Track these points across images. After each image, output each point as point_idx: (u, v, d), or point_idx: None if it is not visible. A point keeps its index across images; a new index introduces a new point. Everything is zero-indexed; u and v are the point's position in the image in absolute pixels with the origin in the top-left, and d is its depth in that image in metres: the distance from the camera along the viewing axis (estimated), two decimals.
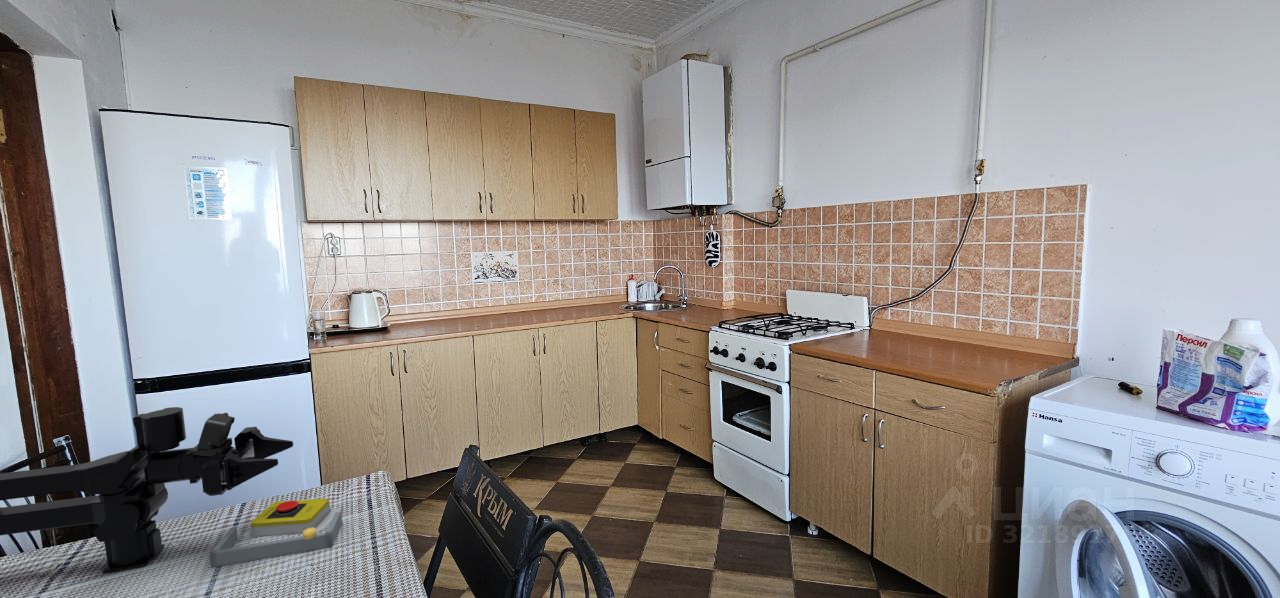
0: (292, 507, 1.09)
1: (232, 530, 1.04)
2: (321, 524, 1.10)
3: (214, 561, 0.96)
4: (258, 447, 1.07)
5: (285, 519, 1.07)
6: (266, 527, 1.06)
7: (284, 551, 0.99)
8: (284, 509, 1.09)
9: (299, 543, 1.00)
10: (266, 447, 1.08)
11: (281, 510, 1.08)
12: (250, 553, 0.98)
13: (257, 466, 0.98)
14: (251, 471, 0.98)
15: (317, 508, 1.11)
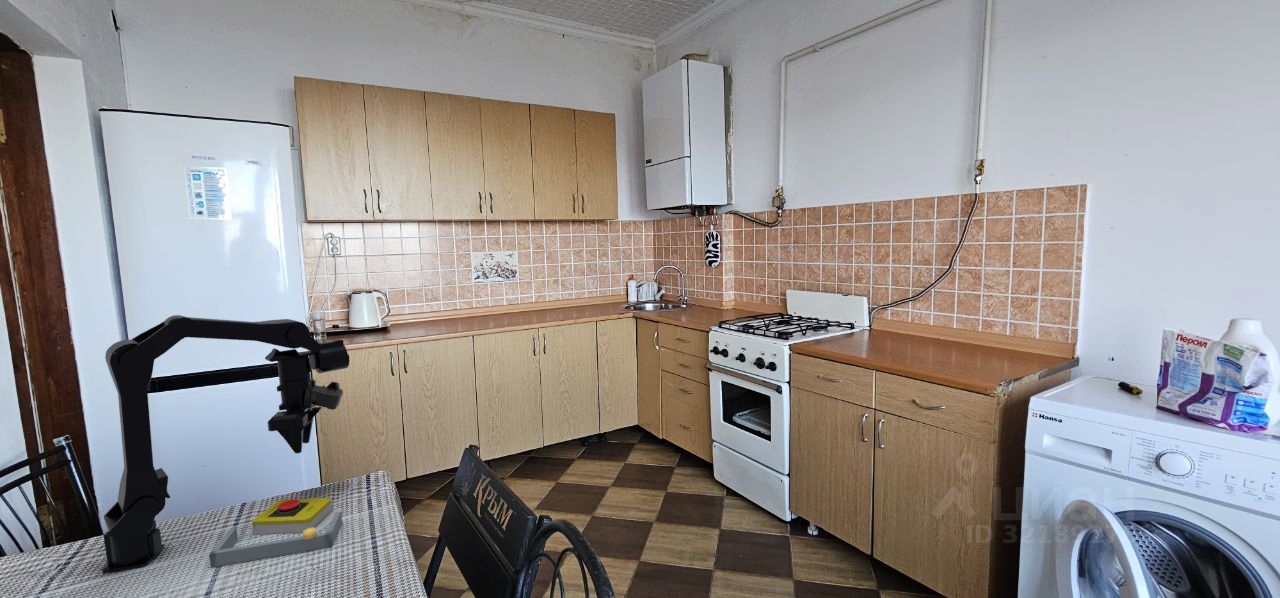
0: (293, 506, 1.10)
1: (232, 530, 1.04)
2: (320, 524, 1.10)
3: (214, 561, 0.96)
4: None
5: (285, 519, 1.07)
6: (267, 526, 1.07)
7: (284, 551, 0.99)
8: (285, 508, 1.09)
9: (299, 543, 1.00)
10: None
11: (282, 509, 1.09)
12: (250, 553, 0.98)
13: (295, 441, 1.15)
14: (290, 438, 1.14)
15: (318, 508, 1.11)
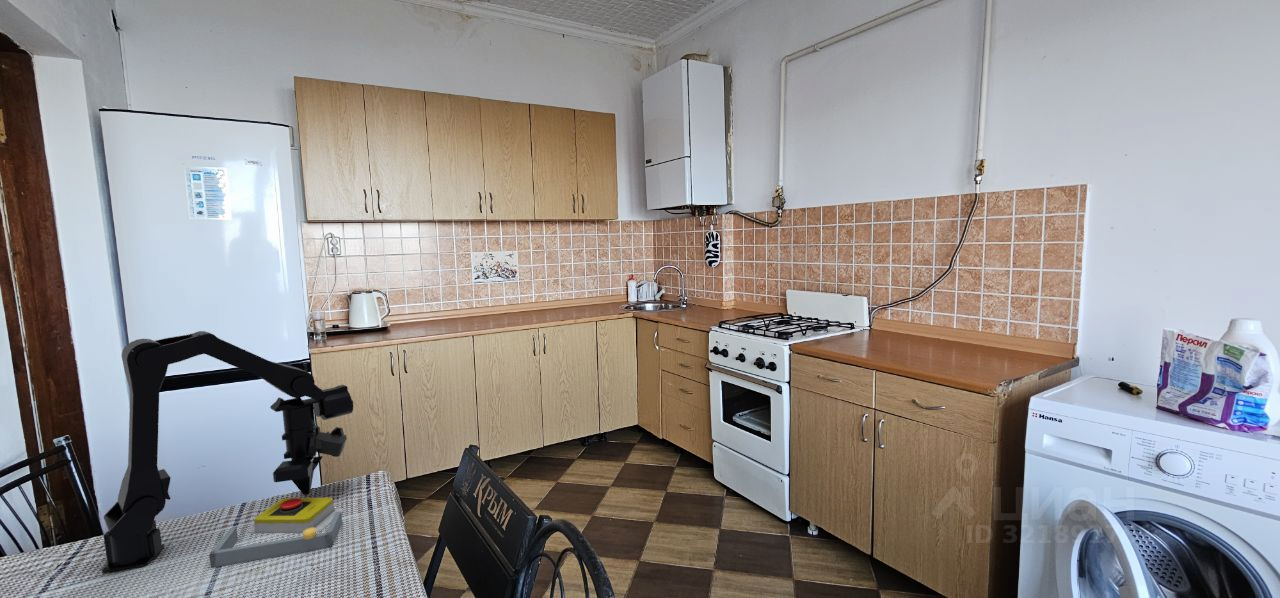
0: (295, 505, 1.10)
1: (232, 530, 1.04)
2: (320, 524, 1.10)
3: (214, 561, 0.96)
4: None
5: (285, 518, 1.07)
6: (268, 524, 1.07)
7: (284, 551, 0.99)
8: (286, 507, 1.09)
9: (299, 543, 1.00)
10: None
11: (284, 508, 1.09)
12: (250, 553, 0.98)
13: (303, 484, 1.18)
14: (299, 481, 1.18)
15: (318, 508, 1.11)
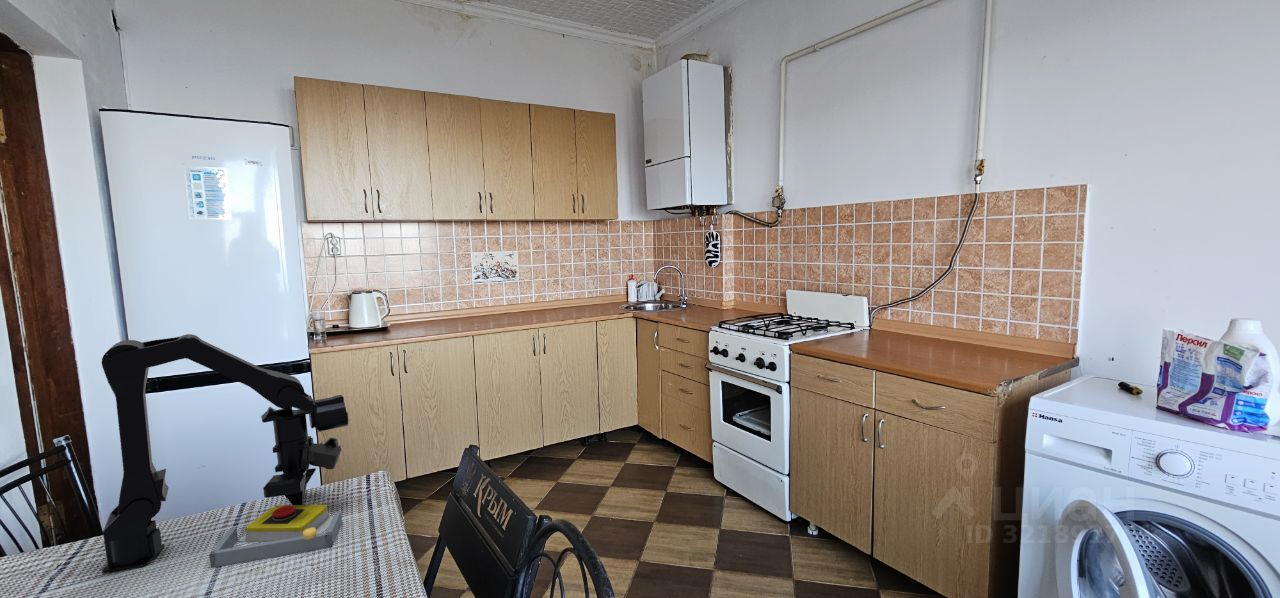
0: (288, 513, 1.07)
1: (232, 530, 1.04)
2: None
3: (214, 561, 0.96)
4: None
5: (278, 526, 1.04)
6: (260, 533, 1.04)
7: (284, 551, 0.99)
8: (279, 515, 1.06)
9: (299, 543, 1.00)
10: None
11: (276, 516, 1.06)
12: (250, 553, 0.98)
13: (296, 498, 1.13)
14: (291, 495, 1.12)
15: (312, 515, 1.08)
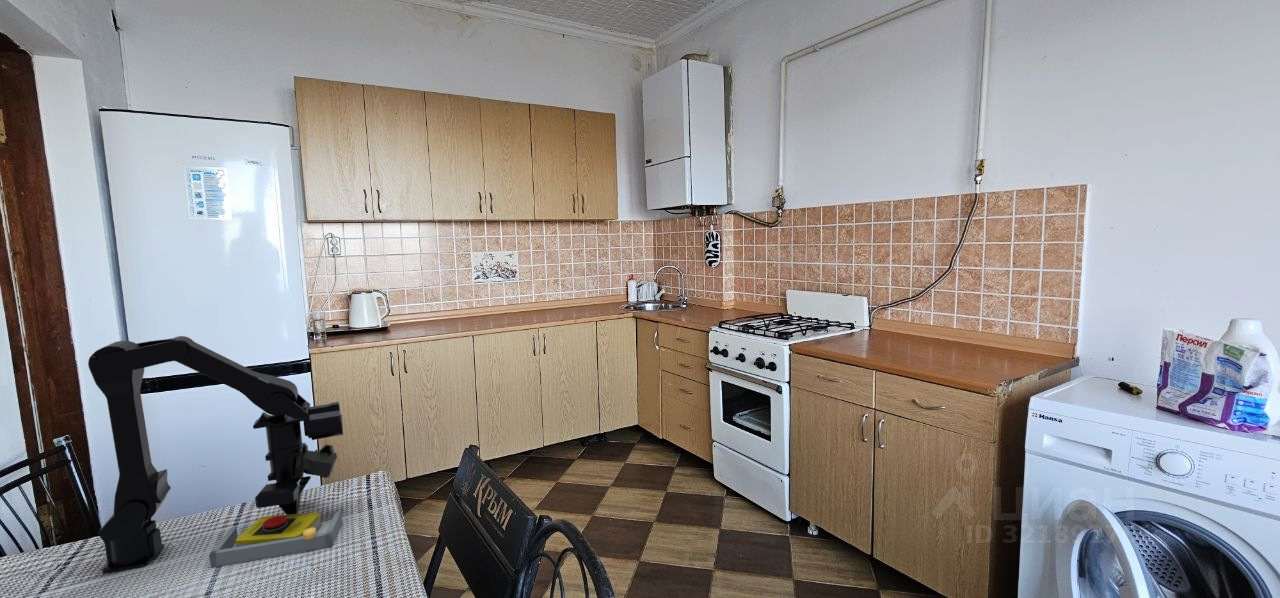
0: (280, 523, 1.03)
1: (232, 530, 1.04)
2: None
3: (214, 561, 0.96)
4: None
5: (272, 536, 1.01)
6: None
7: (284, 551, 0.99)
8: (271, 525, 1.02)
9: (299, 543, 1.00)
10: None
11: (268, 526, 1.02)
12: (250, 553, 0.98)
13: (290, 507, 1.09)
14: (285, 504, 1.08)
15: (306, 524, 1.05)
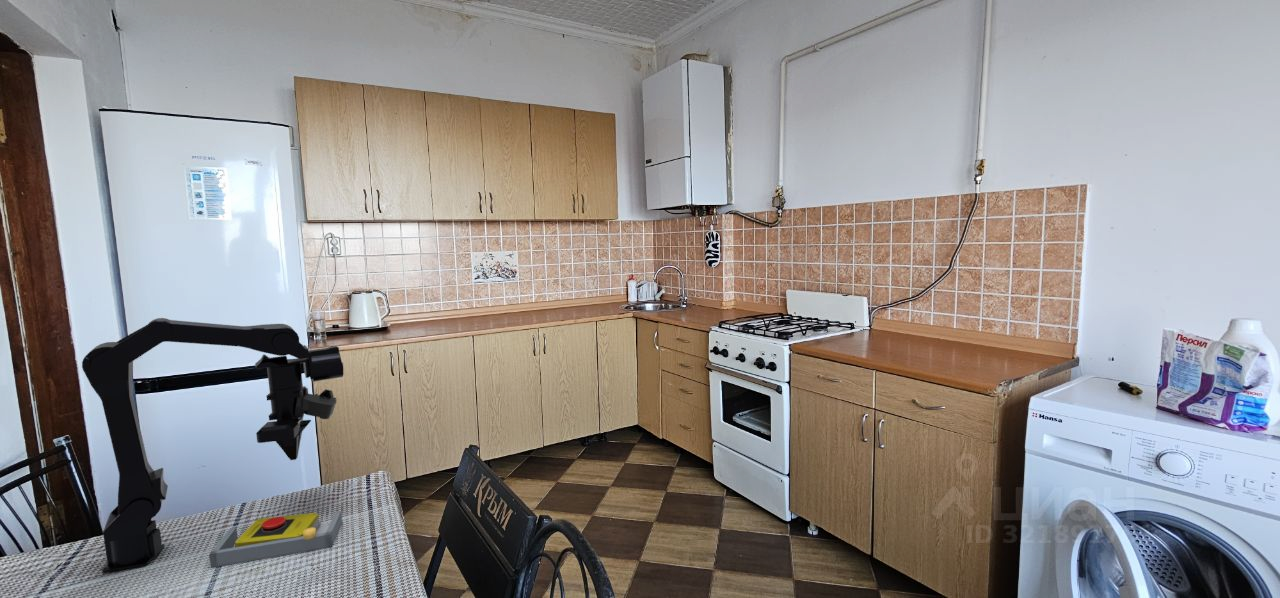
0: (280, 524, 1.03)
1: (232, 530, 1.04)
2: None
3: (214, 561, 0.96)
4: None
5: (273, 537, 1.00)
6: None
7: (284, 551, 0.99)
8: (271, 526, 1.02)
9: (299, 543, 1.00)
10: None
11: (268, 527, 1.02)
12: (250, 553, 0.98)
13: (290, 448, 1.12)
14: (285, 444, 1.11)
15: (307, 524, 1.05)
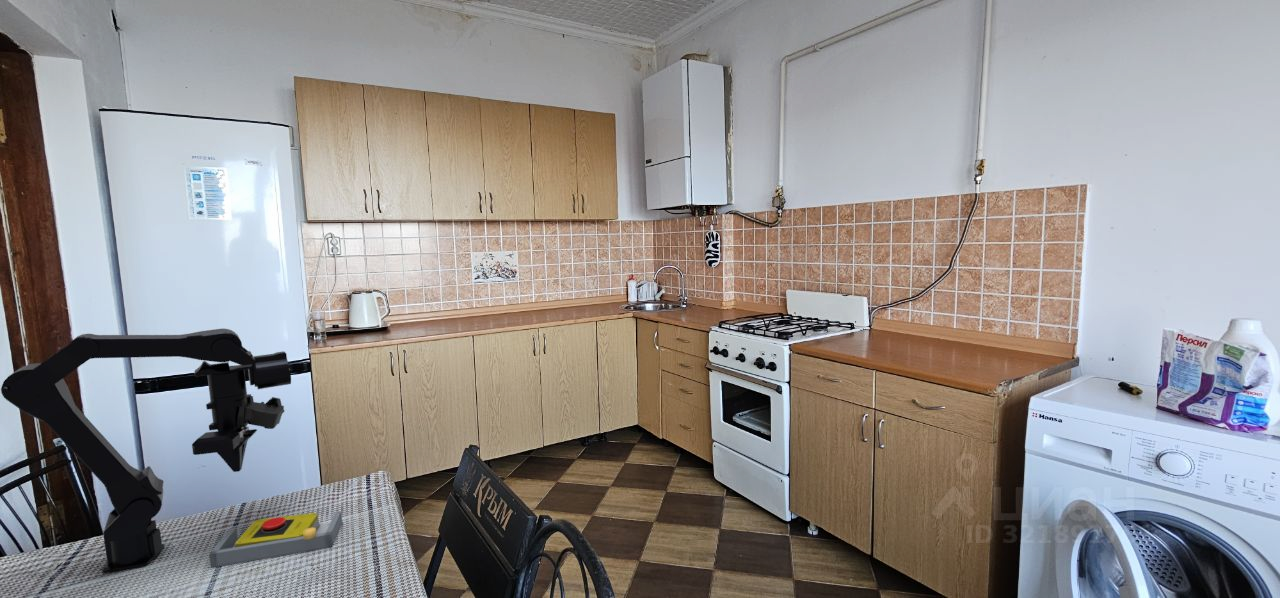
0: (280, 524, 1.03)
1: (232, 530, 1.04)
2: None
3: (214, 561, 0.96)
4: None
5: (274, 537, 1.00)
6: None
7: (284, 551, 0.99)
8: (272, 527, 1.02)
9: (299, 543, 1.00)
10: None
11: (268, 528, 1.02)
12: (250, 553, 0.98)
13: (233, 459, 1.06)
14: (228, 455, 1.06)
15: (307, 524, 1.05)
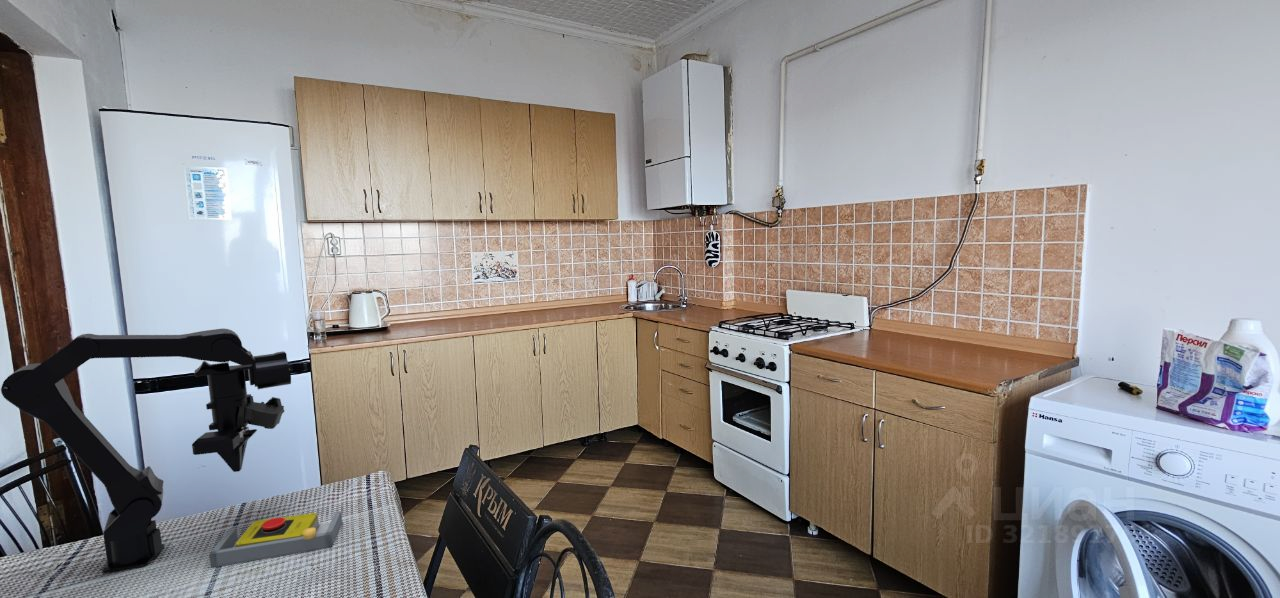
0: (280, 524, 1.03)
1: (232, 530, 1.04)
2: None
3: (214, 561, 0.96)
4: None
5: (275, 537, 1.00)
6: None
7: (284, 551, 0.99)
8: (272, 527, 1.02)
9: (299, 543, 1.00)
10: None
11: (268, 528, 1.02)
12: (250, 553, 0.98)
13: (233, 459, 1.06)
14: (228, 455, 1.06)
15: (307, 523, 1.05)
